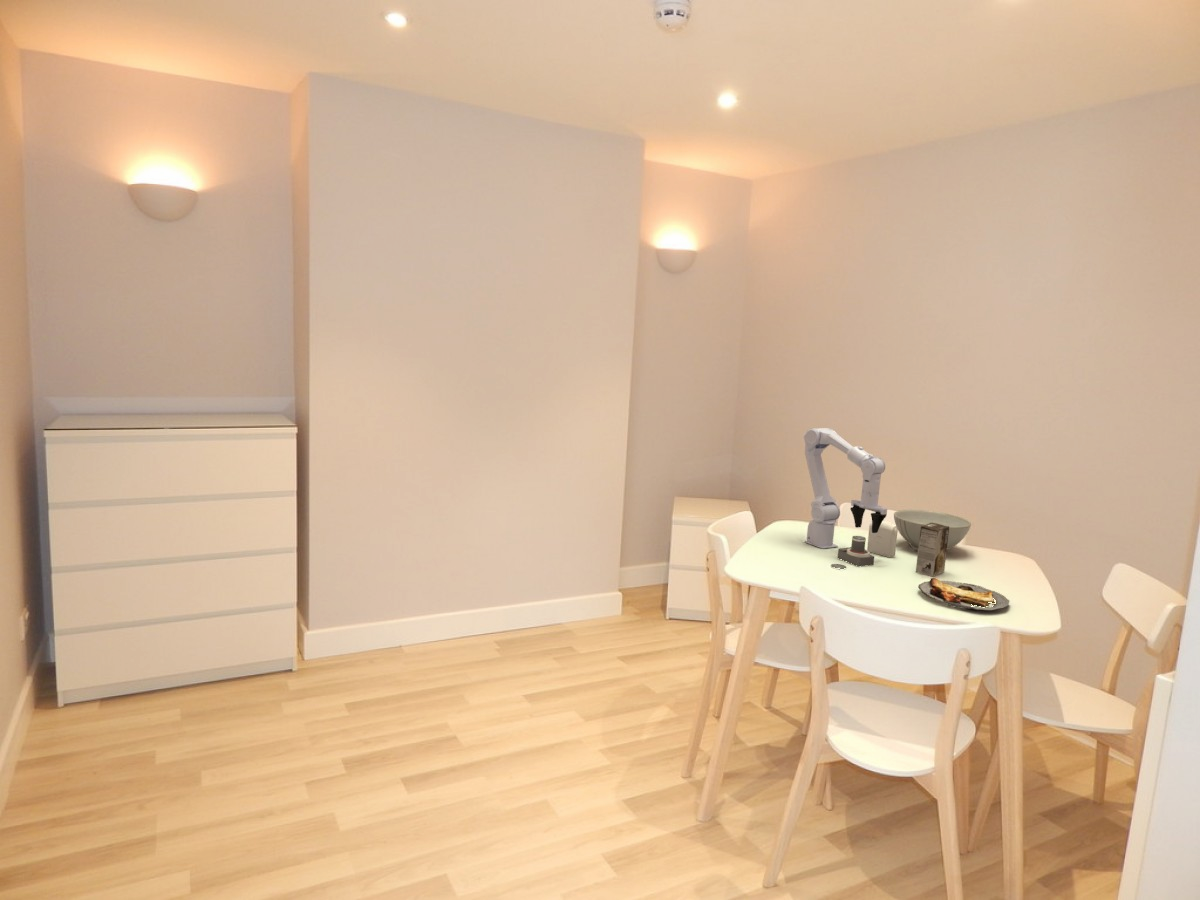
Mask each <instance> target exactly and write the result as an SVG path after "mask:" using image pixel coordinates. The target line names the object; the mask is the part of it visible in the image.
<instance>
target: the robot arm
mask: <svg viewBox="0 0 1200 900" xmlns="http://www.w3.org/2000/svg"><path fill="white" fill-rule="evenodd" d="M803 439H804V443H805V445H804V455H805V459H806V464H807V469H808V472H809V478H810V482H811V486H812V491H813V494H814V499H813V500H812V501H811V503H810V505H811V513H810V514H811V515H810V516H811V518H812V519H811V520H810V521H809V522H808V525H807V531H806V532H807V533H806V540H805V541H804V543H806V544H808V545H811V546H815V547H818V548H820V549H830V548H838V547H839V546H838V545H837V544H835V543H834V537H835V536H834V535H835V524H836V523H837V520H838V519H839V518H840V516H841V509H840V507H839V506H838V503H837V501H836V499H835V498H834V497H833V496H832V495H831V494H830V490H829V489H830V488H829V484H828V481H827V477H826V472H825V466H824V463H823V460H822V453H823V452H824V451H825V449H827V448H828V447H829V446H830V445H831V446H832V447H834V448H836V449H837V450H839V451H841V452H842V453H844V454H846V456H847V459H848V460H849V461H850V462H852V463H853V464H854V465H856V466H857V467H859V469H860V471H861V473H862V486H861V494H860V495H861V496H860V500H857V499H853V500H851V502H850V506H852V507H850V511H851V513H852V517H853V519H854V520H853V521H854V526H855V528H858V529H859V528H862V525H863V524H862V523H863V519H864V515H865V512H866V510H868V511H871V513H870V516H871V521H872V533H877V532H878V530H879V527H880V525H881V523H882V521H885V519H886V517H887V513H888V508H886V507H883V506H880V505H879V504H878V503H879V495H880V487H881V478H882V474H883V473H884V472H885V470H886V463H885V461H884V460H883V459H882V458H881V457H874V455H873V454H872V453H868V452H867V451H866V450H864V447H862V446H853V445H851V443H849V442H848V441H846V440H845V439H844V438H843V437H841V435H839V434H838V433H837V431H835V430H834V429H832V428H831V427H819V428H814V427H812V428H809V429H808V430H807V431H806V432H805V434H804V436H803Z"/></svg>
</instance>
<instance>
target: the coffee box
mask: <svg viewBox="0 0 1200 900" xmlns="http://www.w3.org/2000/svg"><path fill="white" fill-rule="evenodd" d="M948 534H949V526H944V525H941V524H937V523H929V524H926V525H924V526H921V531H920V539H919V548H918V551H917V557H916V565H915V573H917V574H921V575H924V576H928V577H931V578H935V577H936V576H938V575H940V574H942V573H944V572H945V568H946V560H947V559H946V558H947V550H948V549H947V543H948Z"/></svg>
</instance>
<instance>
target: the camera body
mask: <svg viewBox="0 0 1200 900" xmlns="http://www.w3.org/2000/svg"><path fill="white" fill-rule="evenodd" d="M864 551H865V552H864V554H858V553H854V552H851V546H848V547H841V548H838V549H837V557H836V558H839V559H838V560H840V559H842V560H841V561H843V560H844V561H843V562H845V561H847V562H846V563H848V562H849V563H848V564H851V563H852V564H851V565H853V564H854V566H856V565H857V566H856V567H858V566H861V567H866V566H865V565H868V566H873V565H874V563H875V556H874V555H871V552H869V551H867V549H865V550H864Z"/></svg>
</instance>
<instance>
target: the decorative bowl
mask: <svg viewBox="0 0 1200 900" xmlns="http://www.w3.org/2000/svg"><path fill="white" fill-rule="evenodd" d="M893 519H894V523H895V524H894V525H896V526H897V528H898V533H899V534H900V535H901V538H903V539H904V540H905V541H906V542H907V543H908V544H910V548H911V549H913V550H914V551H917V550H918V548H919V539H920V531H921V526H924V525H926V524H929V523H937V524H941V525H944V526H949V534H948V543H947V550H949V549H951V548H954V547H955V546H957V545H958V544H960V542H962V540H963V539H964V538H965V537H966V535H967V534H968V533H969V531H970V529H971V526H972V523H971V522H970V521H969V519H966V518H963V517H961V516H958V515H954V514H949V513H946V512H945V513H944V512H940V511H934V510H933V511H932V510H925V509H924V510H923V509H902V510H896V511H894V513H893Z"/></svg>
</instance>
